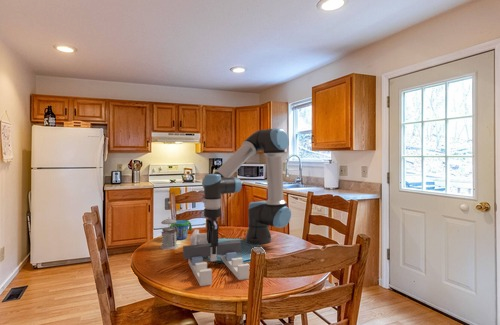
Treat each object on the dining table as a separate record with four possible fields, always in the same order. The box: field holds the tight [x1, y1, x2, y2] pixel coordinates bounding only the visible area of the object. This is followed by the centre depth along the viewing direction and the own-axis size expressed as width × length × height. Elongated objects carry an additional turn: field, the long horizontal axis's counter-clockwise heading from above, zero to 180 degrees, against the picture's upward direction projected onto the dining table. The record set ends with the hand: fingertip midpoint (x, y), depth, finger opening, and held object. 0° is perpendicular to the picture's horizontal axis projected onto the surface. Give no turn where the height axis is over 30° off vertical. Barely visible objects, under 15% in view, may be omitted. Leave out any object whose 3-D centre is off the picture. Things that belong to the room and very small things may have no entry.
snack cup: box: [169, 219, 193, 241], centre depth 181 cm, size 16×10×10 cm
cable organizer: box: [189, 229, 209, 245], centre depth 151 cm, size 15×11×12 cm
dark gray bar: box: [182, 240, 242, 260], centre depth 136 cm, size 26×4×4 cm, turn 111°
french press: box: [159, 201, 179, 251], centre depth 163 cm, size 10×12×25 cm
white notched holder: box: [188, 252, 251, 287], centre depth 129 cm, size 20×26×6 cm
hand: (212, 259), depth 136 cm, fingers closed on dark gray bar, 4 cm apart
